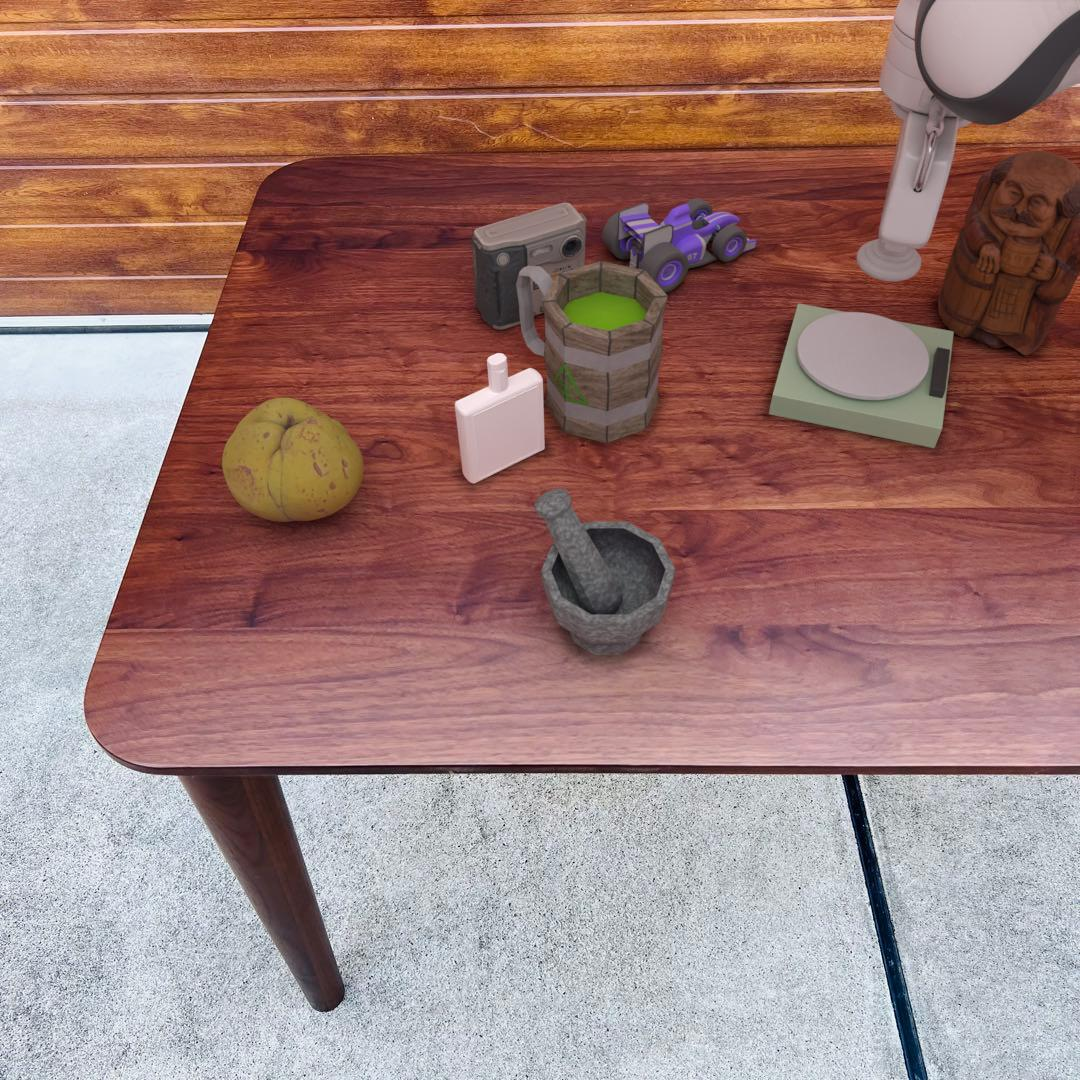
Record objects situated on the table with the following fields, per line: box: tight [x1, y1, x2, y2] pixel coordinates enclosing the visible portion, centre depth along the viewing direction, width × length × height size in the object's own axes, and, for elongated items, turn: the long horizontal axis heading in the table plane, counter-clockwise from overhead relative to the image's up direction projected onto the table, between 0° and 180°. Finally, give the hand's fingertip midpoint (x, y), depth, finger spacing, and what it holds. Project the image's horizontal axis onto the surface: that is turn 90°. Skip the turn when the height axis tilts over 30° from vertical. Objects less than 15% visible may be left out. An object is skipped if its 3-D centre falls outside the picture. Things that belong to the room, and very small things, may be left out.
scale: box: [768, 303, 955, 449], centre depth 95 cm, size 15×14×4 cm
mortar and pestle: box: [533, 488, 676, 656], centre depth 75 cm, size 11×9×12 cm
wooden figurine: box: [937, 150, 1080, 356], centre depth 94 cm, size 12×6×18 cm, turn 54°
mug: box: [516, 260, 669, 444], centre depth 92 cm, size 16×11×12 cm
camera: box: [470, 202, 588, 331], centre depth 101 cm, size 11×6×10 cm, turn 114°
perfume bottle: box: [454, 352, 546, 485], centre depth 86 cm, size 8×2×12 cm, turn 123°
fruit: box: [221, 397, 365, 523], centre depth 84 cm, size 11×12×10 cm
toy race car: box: [601, 197, 758, 295], centre depth 107 cm, size 10×15×6 cm, turn 120°
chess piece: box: [856, 210, 922, 283], centre depth 83 cm, size 5×5×9 cm
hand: (898, 231), depth 84 cm, fingers closed on chess piece, 3 cm apart
